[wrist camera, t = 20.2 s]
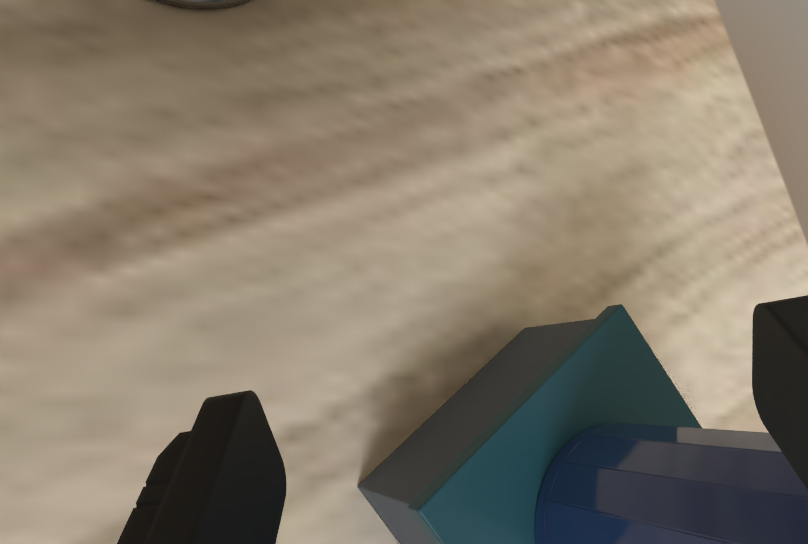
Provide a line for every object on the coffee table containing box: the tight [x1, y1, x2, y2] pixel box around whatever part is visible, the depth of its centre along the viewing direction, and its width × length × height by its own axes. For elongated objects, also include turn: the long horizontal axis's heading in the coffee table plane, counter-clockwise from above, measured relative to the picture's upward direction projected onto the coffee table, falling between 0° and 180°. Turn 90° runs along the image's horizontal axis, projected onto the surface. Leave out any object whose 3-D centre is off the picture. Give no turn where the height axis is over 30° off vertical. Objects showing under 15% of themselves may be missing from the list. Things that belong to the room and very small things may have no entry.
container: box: [358, 304, 702, 544], centre depth 27 cm, size 11×11×6 cm
